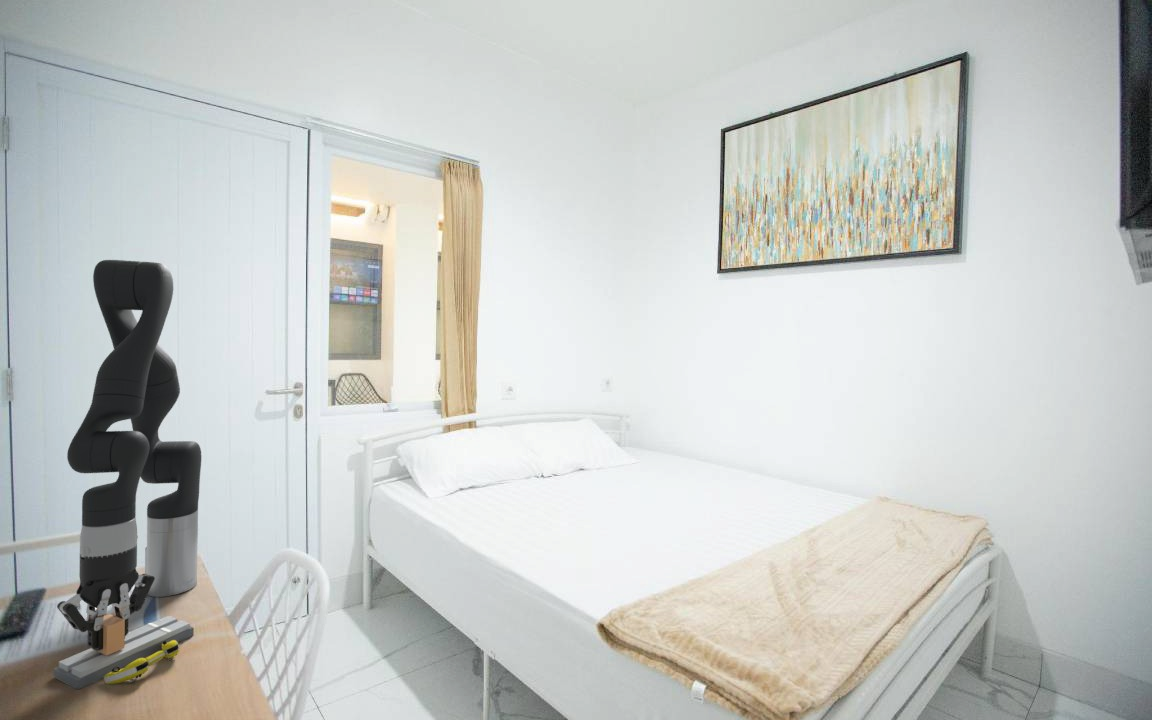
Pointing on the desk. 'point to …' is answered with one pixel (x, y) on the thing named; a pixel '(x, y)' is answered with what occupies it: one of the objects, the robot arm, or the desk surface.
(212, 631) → the desk surface
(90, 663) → the fader track
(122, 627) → the cap
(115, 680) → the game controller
